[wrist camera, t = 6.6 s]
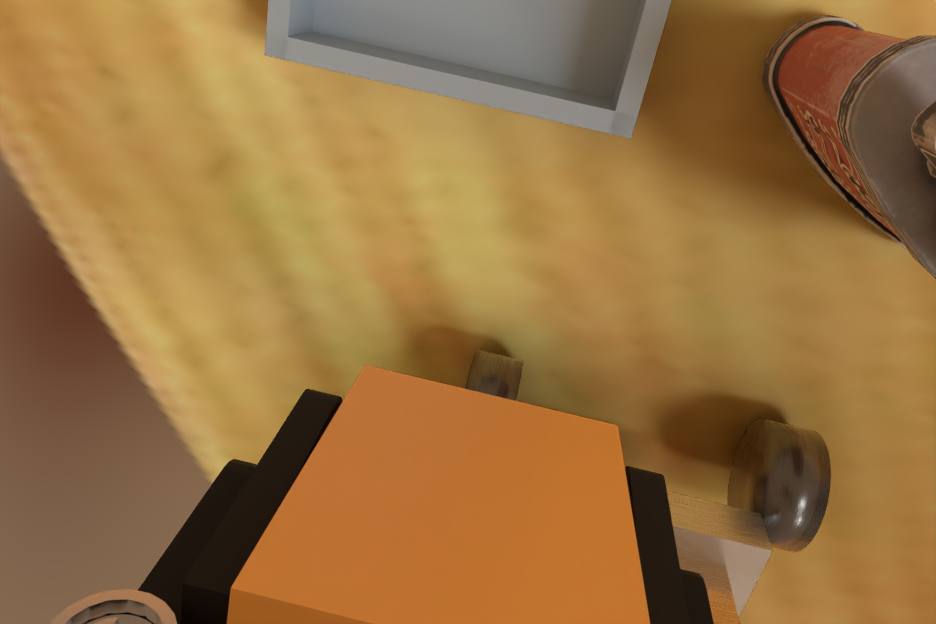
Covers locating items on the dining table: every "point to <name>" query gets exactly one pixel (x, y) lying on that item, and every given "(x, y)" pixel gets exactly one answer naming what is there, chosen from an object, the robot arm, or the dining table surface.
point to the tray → (487, 51)
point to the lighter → (864, 121)
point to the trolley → (749, 499)
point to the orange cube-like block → (449, 517)
